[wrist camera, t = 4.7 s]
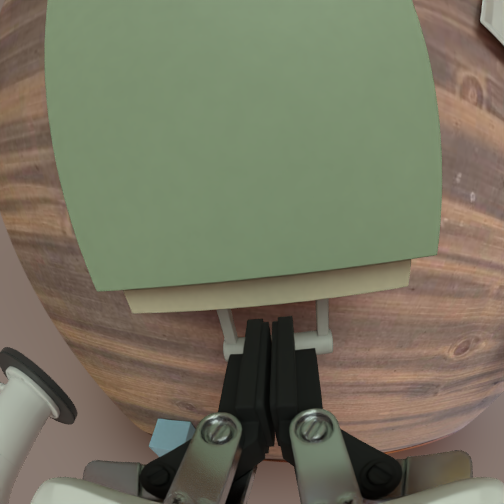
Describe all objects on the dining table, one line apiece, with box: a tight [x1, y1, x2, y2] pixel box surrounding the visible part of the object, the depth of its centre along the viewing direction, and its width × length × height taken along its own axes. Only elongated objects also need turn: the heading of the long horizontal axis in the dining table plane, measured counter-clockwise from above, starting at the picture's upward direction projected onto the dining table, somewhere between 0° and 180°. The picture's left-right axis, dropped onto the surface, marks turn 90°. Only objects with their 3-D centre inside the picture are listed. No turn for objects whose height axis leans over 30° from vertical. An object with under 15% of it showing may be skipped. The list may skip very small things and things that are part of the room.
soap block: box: [149, 419, 196, 457], centre depth 27 cm, size 4×4×4 cm
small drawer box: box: [45, 0, 442, 292], centre depth 10 cm, size 15×13×9 cm
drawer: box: [123, 259, 411, 362], centre depth 12 cm, size 19×11×7 cm, turn 9°
